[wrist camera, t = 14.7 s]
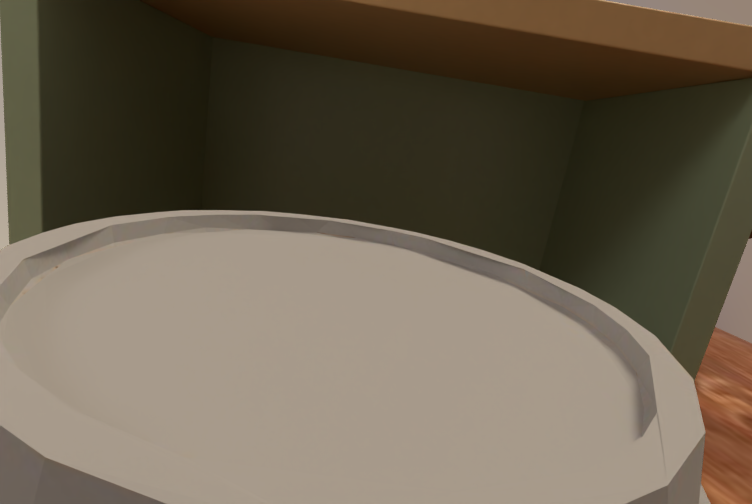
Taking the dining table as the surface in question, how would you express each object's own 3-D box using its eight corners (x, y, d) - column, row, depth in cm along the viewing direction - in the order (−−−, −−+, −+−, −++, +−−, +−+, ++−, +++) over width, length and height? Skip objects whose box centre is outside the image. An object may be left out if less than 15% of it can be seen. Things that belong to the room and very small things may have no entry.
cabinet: (628, 556, 19) (826, 38, 14) (17, 456, 18) (-6, -107, 13) (524, 367, 33) (601, 84, 28) (183, 310, 33) (201, 15, 28)
